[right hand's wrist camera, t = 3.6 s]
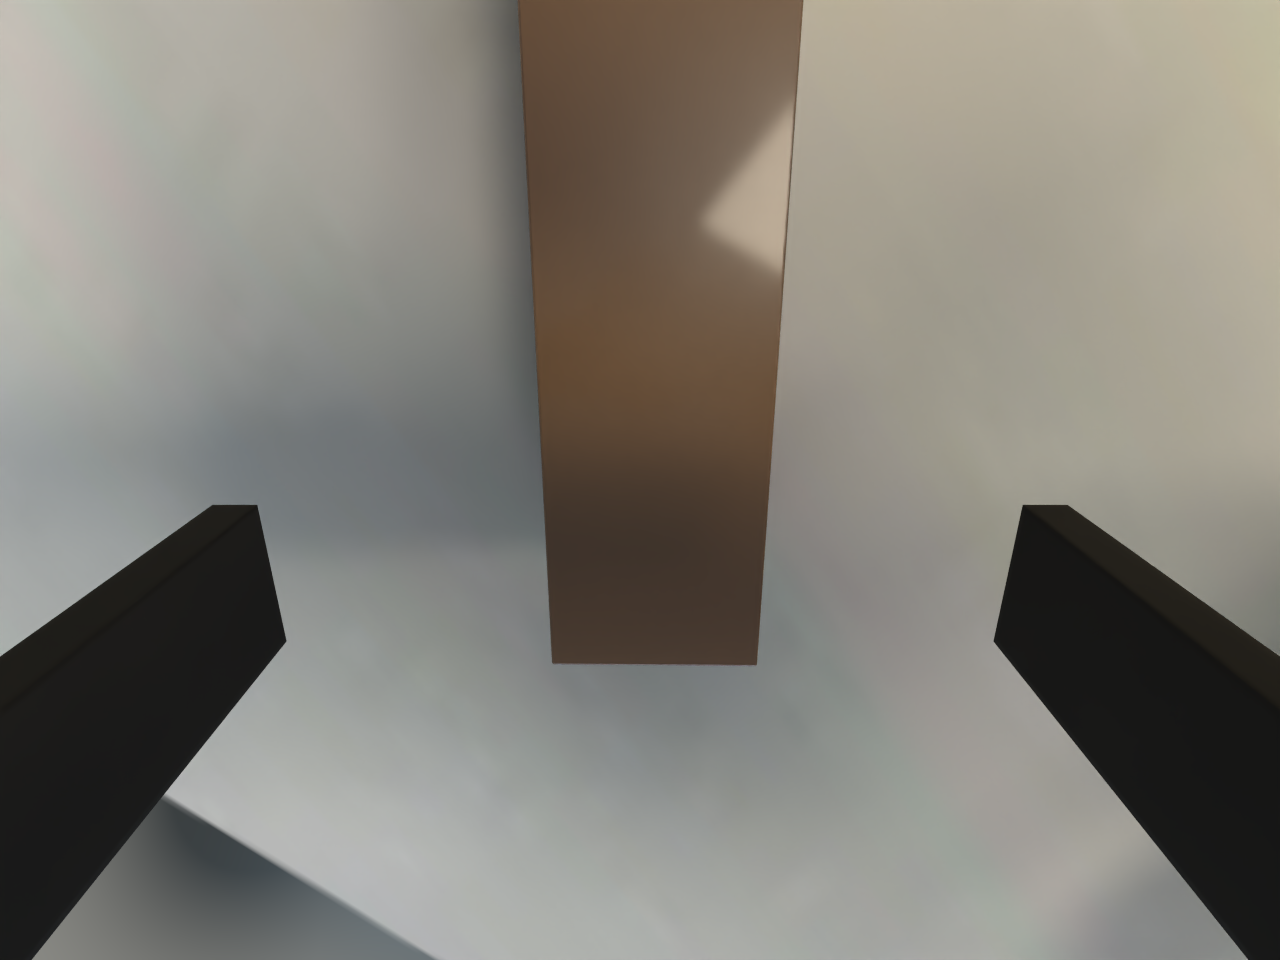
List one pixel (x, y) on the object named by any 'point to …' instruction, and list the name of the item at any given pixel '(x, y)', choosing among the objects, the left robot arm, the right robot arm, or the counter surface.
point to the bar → (657, 314)
